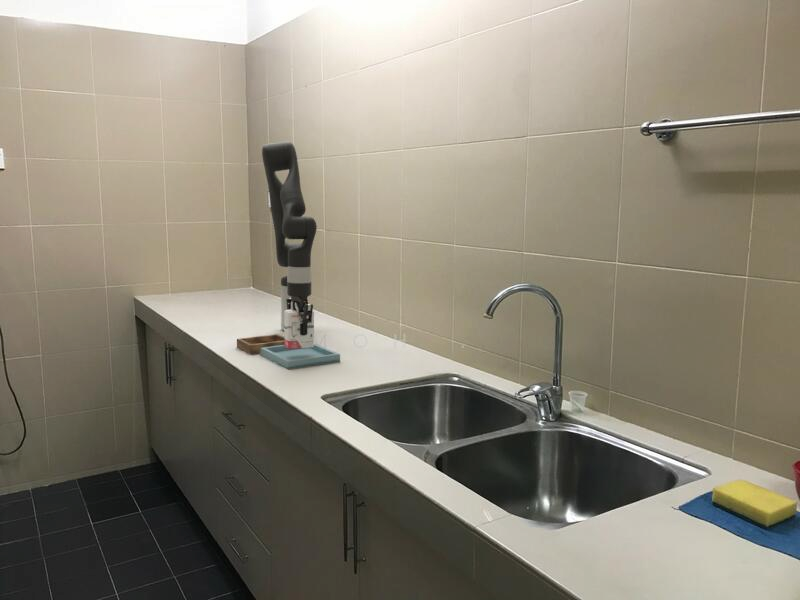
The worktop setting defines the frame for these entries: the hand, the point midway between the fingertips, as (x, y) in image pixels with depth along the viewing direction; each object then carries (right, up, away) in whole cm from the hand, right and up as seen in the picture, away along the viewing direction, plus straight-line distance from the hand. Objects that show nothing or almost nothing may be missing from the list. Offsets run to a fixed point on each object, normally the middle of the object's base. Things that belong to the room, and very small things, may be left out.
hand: (299, 333), depth 210 cm
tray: (0, -8, +1) cm, 8 cm away
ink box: (0, -5, +1) cm, 5 cm away
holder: (-14, -6, +13) cm, 20 cm away
